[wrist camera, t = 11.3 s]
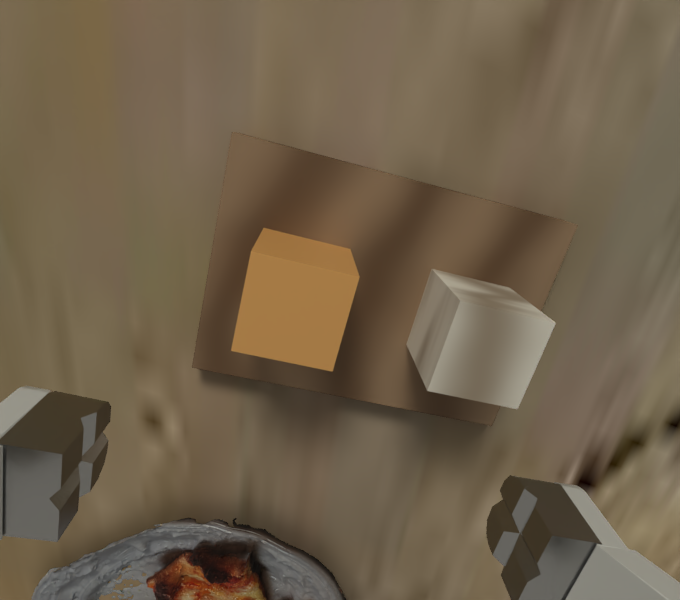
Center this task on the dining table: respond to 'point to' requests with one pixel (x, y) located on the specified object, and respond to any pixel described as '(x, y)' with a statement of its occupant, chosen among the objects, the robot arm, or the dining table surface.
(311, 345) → the tan wooden cube
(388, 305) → the peg board
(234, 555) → the food plate
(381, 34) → the dining table surface
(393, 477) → the dining table surface
